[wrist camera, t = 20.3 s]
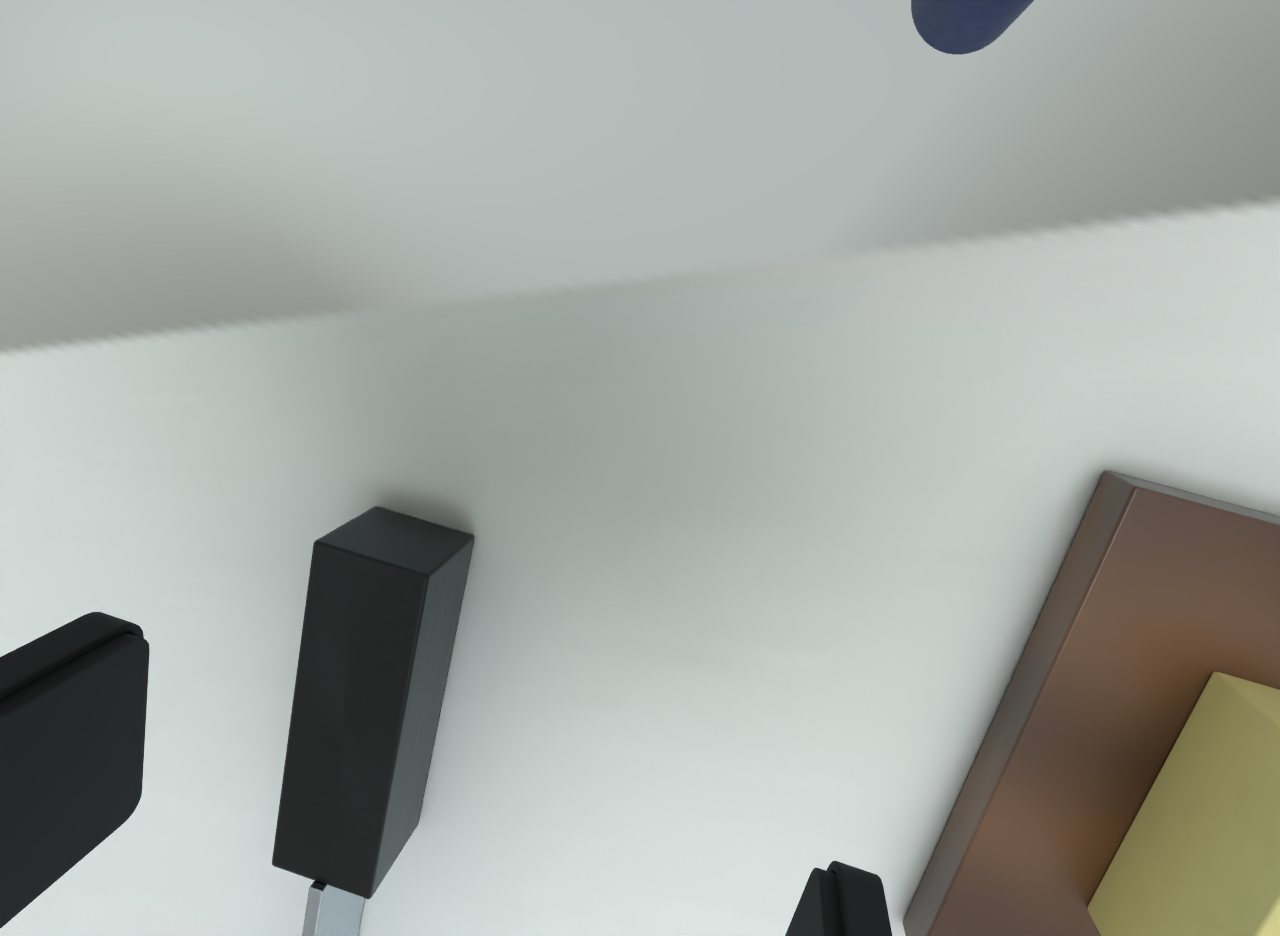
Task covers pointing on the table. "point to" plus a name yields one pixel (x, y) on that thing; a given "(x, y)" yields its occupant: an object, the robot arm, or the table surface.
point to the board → (1102, 705)
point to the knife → (366, 705)
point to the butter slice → (1205, 827)
